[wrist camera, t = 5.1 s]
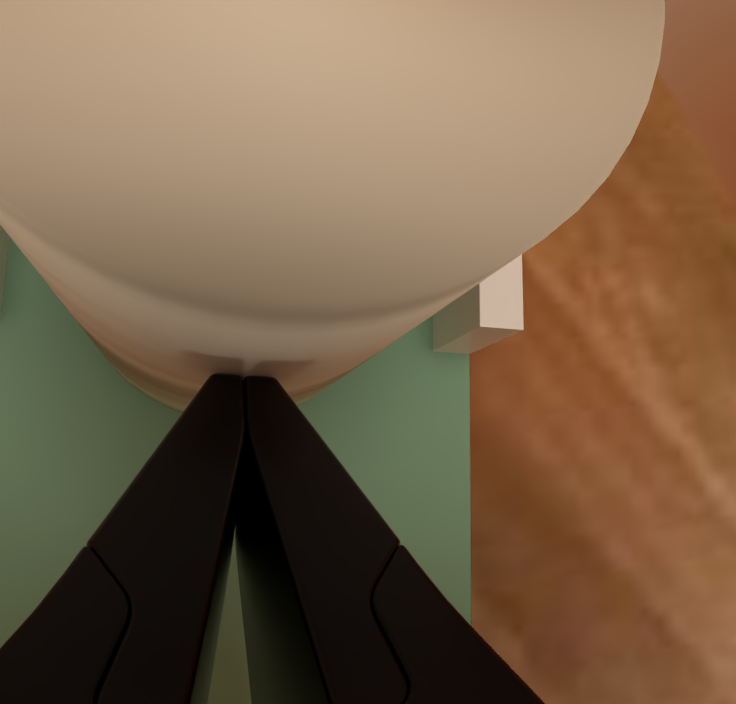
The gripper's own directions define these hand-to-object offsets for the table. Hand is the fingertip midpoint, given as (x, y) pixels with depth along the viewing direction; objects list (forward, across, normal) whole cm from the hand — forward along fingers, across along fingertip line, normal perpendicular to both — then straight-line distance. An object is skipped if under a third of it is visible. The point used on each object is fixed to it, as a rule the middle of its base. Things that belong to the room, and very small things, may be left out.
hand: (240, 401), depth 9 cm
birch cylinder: (+7, 0, +2) cm, 8 cm away
